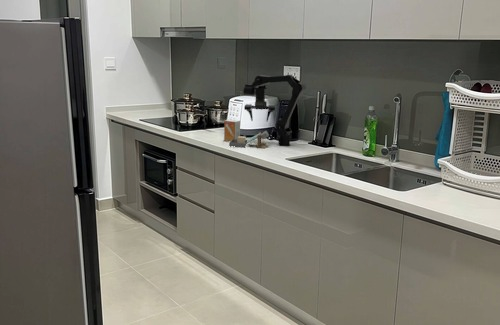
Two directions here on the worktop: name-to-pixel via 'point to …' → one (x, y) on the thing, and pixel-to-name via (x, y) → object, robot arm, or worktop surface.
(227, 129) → the small box
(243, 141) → the stone
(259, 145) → the frame
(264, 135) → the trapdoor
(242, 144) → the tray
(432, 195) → the worktop surface
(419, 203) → the worktop surface
